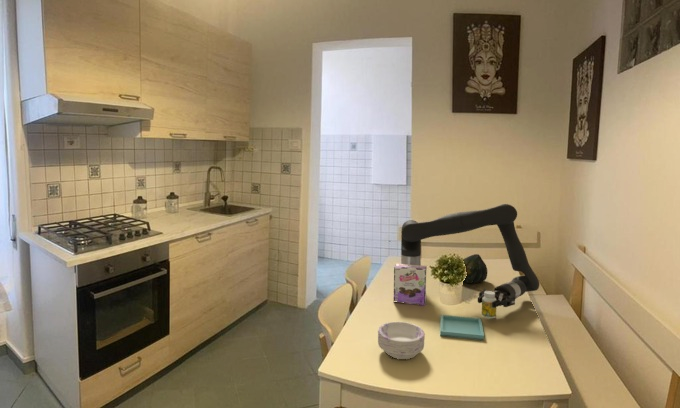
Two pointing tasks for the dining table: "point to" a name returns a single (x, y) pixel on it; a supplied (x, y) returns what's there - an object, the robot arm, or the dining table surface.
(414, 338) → the paper bowls
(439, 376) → the dining table surface
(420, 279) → the candy box
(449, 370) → the dining table surface
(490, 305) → the supplement bottle
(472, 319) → the teal tray
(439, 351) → the dining table surface
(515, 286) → the robot arm
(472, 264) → the squash
